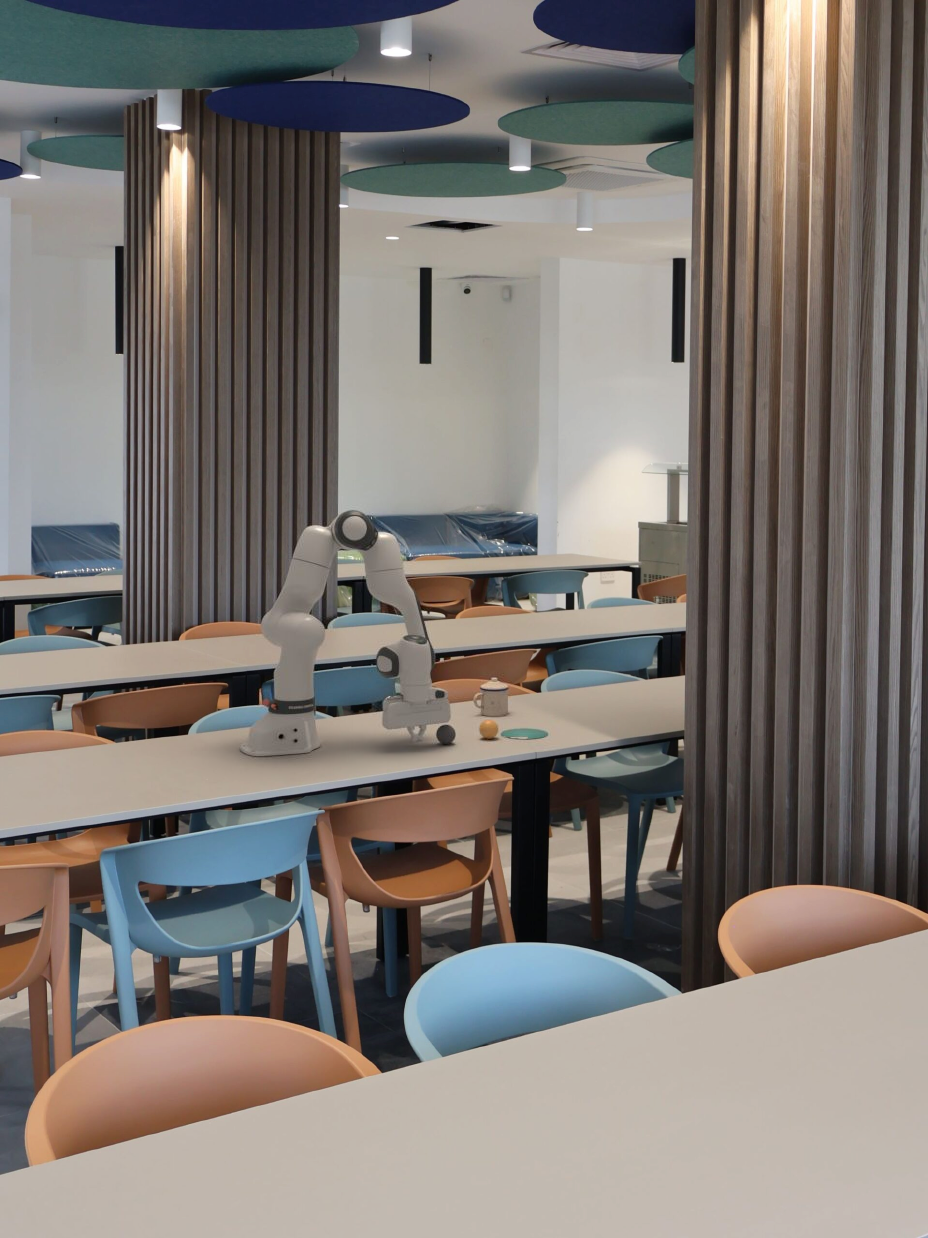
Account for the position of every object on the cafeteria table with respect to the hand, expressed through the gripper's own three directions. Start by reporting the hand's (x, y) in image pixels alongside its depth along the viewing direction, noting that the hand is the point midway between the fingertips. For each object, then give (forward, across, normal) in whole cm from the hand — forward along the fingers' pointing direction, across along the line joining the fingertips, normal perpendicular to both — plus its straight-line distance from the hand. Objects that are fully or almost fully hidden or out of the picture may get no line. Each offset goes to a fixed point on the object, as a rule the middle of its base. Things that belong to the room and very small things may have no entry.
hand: (416, 741), depth 360 cm
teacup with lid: (+2, +40, +30) cm, 50 cm away
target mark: (+2, +35, 0) cm, 35 cm away
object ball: (-1, +23, 0) cm, 23 cm away
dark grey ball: (-1, +9, 0) cm, 9 cm away
